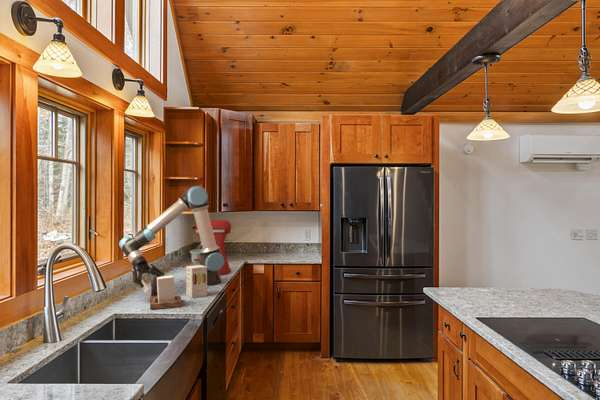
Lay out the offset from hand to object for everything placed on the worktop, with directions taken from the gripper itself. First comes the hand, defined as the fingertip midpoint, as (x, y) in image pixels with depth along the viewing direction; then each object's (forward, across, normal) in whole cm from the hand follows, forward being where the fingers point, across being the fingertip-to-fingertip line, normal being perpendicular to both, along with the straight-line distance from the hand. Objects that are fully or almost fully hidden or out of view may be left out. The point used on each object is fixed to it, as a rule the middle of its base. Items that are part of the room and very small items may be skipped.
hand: (157, 288), depth 220 cm
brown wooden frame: (+11, +3, +2) cm, 11 cm away
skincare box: (+14, +6, +5) cm, 16 cm away
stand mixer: (-13, -76, -22) cm, 80 cm away
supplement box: (+14, -17, +5) cm, 22 cm away
